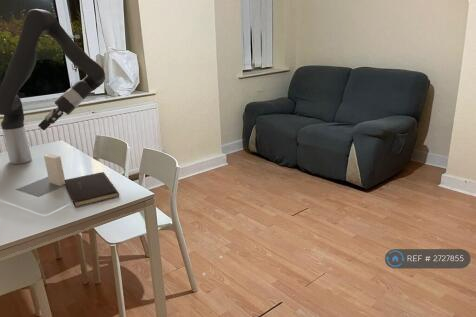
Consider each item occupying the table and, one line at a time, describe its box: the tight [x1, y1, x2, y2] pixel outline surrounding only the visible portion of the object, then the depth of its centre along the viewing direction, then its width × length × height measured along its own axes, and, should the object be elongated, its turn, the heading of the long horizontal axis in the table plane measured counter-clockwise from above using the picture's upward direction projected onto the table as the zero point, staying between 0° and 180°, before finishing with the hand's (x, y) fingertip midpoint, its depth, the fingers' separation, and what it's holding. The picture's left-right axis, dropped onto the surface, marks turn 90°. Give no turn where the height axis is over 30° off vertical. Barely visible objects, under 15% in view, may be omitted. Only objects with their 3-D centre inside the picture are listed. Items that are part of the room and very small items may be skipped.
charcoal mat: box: [15, 176, 66, 198], centre depth 156 cm, size 15×15×1 cm
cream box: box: [43, 153, 66, 186], centre depth 156 cm, size 7×3×12 cm, turn 61°
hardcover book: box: [64, 171, 120, 208], centre depth 150 cm, size 16×23×2 cm
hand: (40, 128), depth 159 cm, fingers open, 8 cm apart
